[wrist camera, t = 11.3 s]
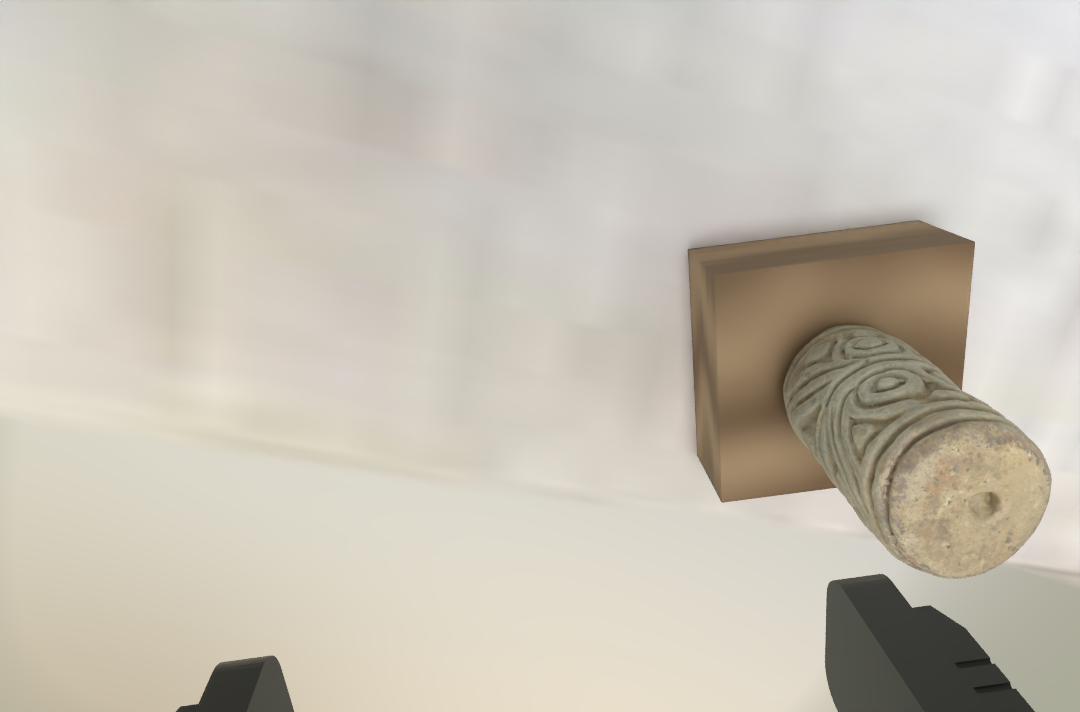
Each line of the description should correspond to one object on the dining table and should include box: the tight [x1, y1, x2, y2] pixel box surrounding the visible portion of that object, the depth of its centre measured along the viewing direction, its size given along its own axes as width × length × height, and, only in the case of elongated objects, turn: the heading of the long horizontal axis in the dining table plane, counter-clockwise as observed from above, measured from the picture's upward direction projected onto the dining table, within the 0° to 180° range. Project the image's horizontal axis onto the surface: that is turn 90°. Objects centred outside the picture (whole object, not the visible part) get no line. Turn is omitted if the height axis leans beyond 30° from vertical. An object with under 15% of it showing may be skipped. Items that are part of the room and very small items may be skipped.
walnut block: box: [688, 221, 975, 502], centre depth 40 cm, size 12×12×5 cm
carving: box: [783, 325, 1052, 579], centre depth 32 cm, size 6×8×12 cm
